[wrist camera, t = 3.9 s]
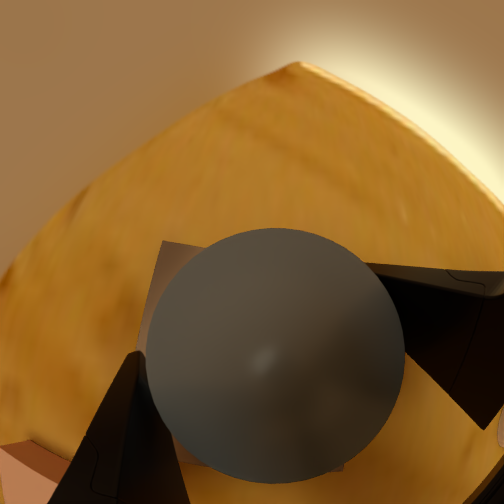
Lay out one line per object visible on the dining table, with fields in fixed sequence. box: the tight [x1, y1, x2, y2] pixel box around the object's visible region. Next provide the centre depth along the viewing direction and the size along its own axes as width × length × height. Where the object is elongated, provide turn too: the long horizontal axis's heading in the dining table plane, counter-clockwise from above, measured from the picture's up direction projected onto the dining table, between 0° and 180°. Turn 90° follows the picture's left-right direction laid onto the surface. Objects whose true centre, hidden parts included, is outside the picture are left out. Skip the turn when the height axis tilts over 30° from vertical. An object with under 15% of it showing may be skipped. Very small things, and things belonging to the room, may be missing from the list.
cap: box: [146, 228, 405, 484], centre depth 8 cm, size 7×7×4 cm
